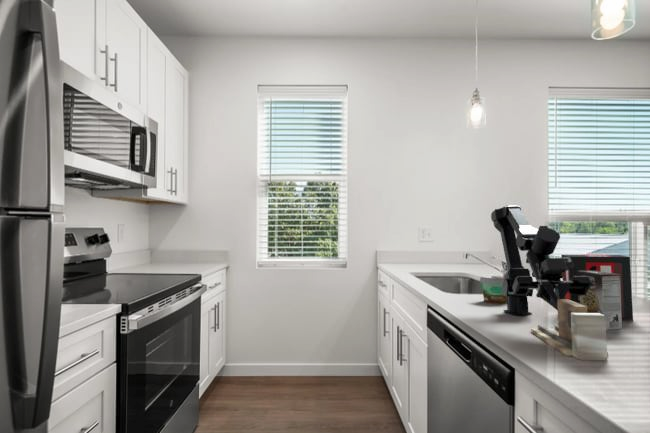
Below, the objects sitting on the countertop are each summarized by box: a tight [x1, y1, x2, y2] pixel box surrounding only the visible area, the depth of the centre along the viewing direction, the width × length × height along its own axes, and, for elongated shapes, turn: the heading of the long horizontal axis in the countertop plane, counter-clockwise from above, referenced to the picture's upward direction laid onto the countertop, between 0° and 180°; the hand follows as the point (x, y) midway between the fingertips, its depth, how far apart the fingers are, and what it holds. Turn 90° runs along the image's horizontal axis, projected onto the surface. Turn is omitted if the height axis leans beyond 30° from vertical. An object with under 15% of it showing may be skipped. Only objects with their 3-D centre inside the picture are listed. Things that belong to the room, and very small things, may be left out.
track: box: [530, 313, 609, 361], centre depth 92 cm, size 22×9×10 cm, turn 171°
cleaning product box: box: [561, 254, 634, 322], centre depth 121 cm, size 16×9×20 cm, turn 70°
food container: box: [479, 276, 507, 305], centre depth 144 cm, size 12×6×10 cm, turn 81°
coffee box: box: [577, 270, 623, 331], centre depth 109 cm, size 9×6×16 cm
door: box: [557, 299, 587, 343], centre depth 90 cm, size 9×3×10 cm, turn 171°
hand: (562, 311), depth 94 cm, fingers closed, pressing on door
